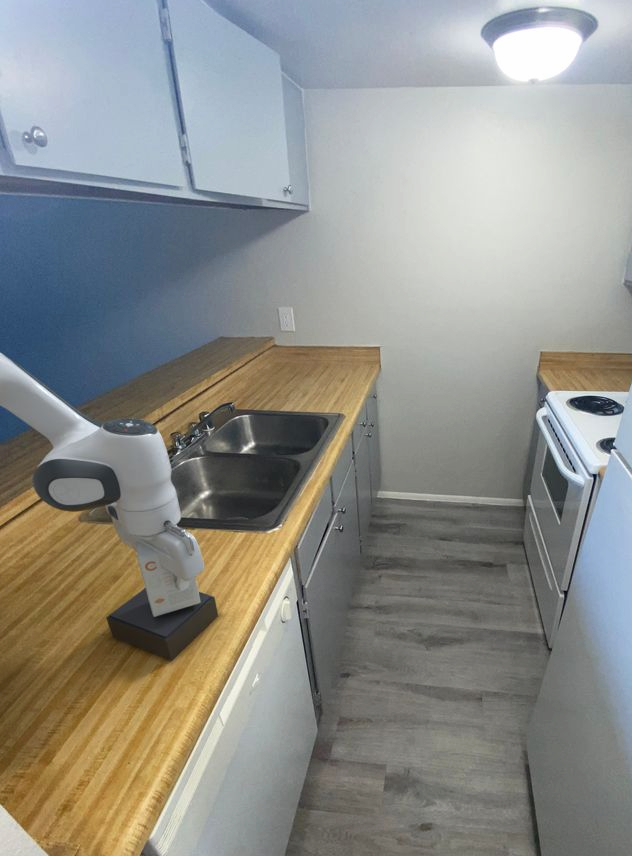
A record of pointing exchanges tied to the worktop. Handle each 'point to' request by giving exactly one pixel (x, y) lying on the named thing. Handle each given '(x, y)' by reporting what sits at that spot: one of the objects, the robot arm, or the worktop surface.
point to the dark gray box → (161, 625)
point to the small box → (163, 584)
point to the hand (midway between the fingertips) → (166, 577)
